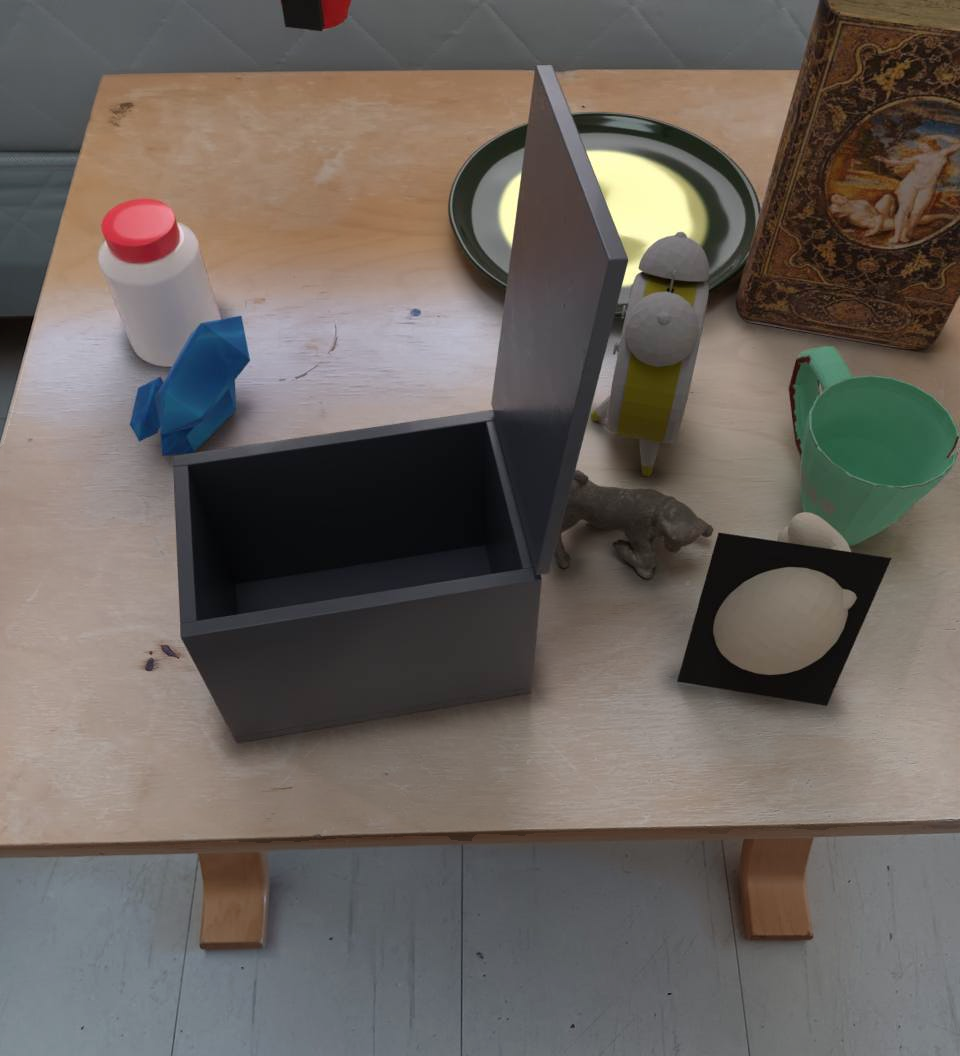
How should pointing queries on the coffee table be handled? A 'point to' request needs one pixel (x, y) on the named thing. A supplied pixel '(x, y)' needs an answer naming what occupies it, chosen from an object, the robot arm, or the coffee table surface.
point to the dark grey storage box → (355, 575)
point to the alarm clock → (658, 346)
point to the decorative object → (781, 612)
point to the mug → (865, 444)
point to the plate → (617, 195)
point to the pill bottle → (155, 278)
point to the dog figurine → (631, 521)
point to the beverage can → (334, 12)
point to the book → (865, 180)
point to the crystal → (194, 388)
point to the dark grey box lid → (553, 315)
